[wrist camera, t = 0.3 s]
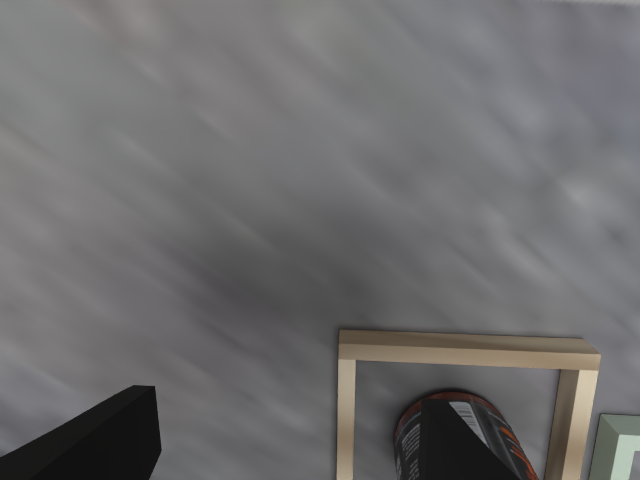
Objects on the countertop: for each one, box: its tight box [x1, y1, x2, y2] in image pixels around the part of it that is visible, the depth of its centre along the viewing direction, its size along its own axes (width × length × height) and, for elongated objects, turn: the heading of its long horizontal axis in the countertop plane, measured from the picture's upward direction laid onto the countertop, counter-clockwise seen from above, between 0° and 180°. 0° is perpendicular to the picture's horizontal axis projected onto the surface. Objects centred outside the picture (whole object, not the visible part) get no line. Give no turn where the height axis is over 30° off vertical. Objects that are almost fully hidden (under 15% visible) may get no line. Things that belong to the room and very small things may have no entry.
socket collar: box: [337, 329, 601, 480], centre depth 21 cm, size 12×12×2 cm
